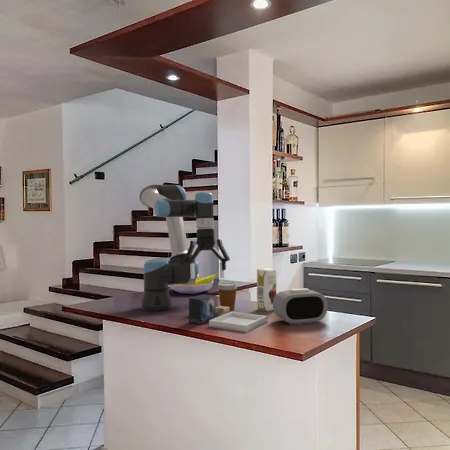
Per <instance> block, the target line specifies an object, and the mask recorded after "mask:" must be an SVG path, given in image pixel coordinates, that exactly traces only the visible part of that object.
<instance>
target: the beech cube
mask: <svg viewBox="0 0 450 450" xmlns="http://www.w3.org/2000/svg"><path fill="white" fill-rule="evenodd" d="M229 312H231V311H230V307H226V306H220V305H219V306H216V307H214V318H217V317H219V316H222V315H224V314H227V313H229Z"/></svg>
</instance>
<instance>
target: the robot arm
mask: <svg viewBox="0 0 450 450" xmlns="http://www.w3.org/2000/svg"><path fill="white" fill-rule="evenodd" d="M186 194H187V193H186V190H185V188H184V187H182V185H177V184H150V185H148V186H145V187H144V188H142V189H141V191H140V193H139V201H140V203H141V204H142V205H143V206H145V207H147V208H152V209H153V210H154V213H155V216H156V217H158V218H165V220H166V227H167V234H168V238H169V240H168V241H169V246H170V252H171V256H170V257H169V258H167V257H162V258H153V259H150V260H147V261H145V262H144V263H143V271H142V272H143V294H142V296H141V297H142V298H141V301H140V304H139V305H140V310H142V311H147V312H150V311H152V312H159V311H160V312H161V311H166V310H170V309H172V308H173V301H172V298H171V295H170V292H169V285H175V284H188V283H194V282H195V281H196V279H197V277H198V275H199V272H200V271H199V268H200V267H199V262H198V259H196V258H197V257H198V256H199V254H200V253H201V252H202V251H211V252H213V254H214V255H215V257H217V259H218V260H219V261H220V262H219V278H220V279H224V278H225V271H226V269H227V264H226V263H228V262H229V261H231V260H230V259H231V258H230V256H229V254H228V252H227V251H226V248H225V247H224V245H223V240H222V239H221V238H217V239H215V229H214V227H215V221H214V220H215V219H214V198H213V194H212V192H209V191H206V192H204V191H203V192H197V193H196V194H195V195H194V196H195V197H194V199H187V195H186ZM184 218H195V219H196V222H195V223H196V240H190V241H189V246H188V240H187V239H188V238H187V234H186V228H185V223H184ZM215 244H216V245H217V247H218V249H219V250H220V251H219V250H218V249H217V247H216V246H215ZM195 246H196V249H195ZM194 249H195V250H194ZM193 251H194V252H193ZM220 252H221V253H220Z"/></svg>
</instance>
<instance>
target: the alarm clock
mask: <svg viewBox="0 0 450 450" xmlns="http://www.w3.org/2000/svg"><path fill="white" fill-rule="evenodd" d="M327 300H328V299H327V298H326V296H325V295H324V294H323V293H320V292H317V291H315V290H313V289H312V290H311V289H309V288H307V287H306V288H305V287H304V288H291V289H290V290H288V289H287V290H283V291H279V292H278V293H277V292H276V296H275V297H274V300H273V310H272V311H273V312H274V314H275V316H277V317H278V318H279V319H281V320H283V321H284V322H286V323H288V324H289V325H291V326H292V324H295V325H303V324H302V323H307V324H313V323H312V322H317V323H318V322H319V321H321V320H323V319H324V318H325V317H326V315H327V313H328V308H329V307H328V301H327Z"/></svg>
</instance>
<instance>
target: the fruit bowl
mask: <svg viewBox="0 0 450 450" xmlns="http://www.w3.org/2000/svg"><path fill="white" fill-rule="evenodd" d="M217 274H218V273H214V274H213V275H209V276H206V277H203V278H201V276H200V275H199V274H198V277H197V279H196V281H195V282H194V283H188V284H175V285H168V287H169V288H170V289H171V290H173V291H174V292H177V293H179V294H185V295H186V294H187V295H197V294H200V293H204V292H205V291H208V290H209V289H211V288H212V287H213V286H214V285H213V284H214V280H215V278H216V276H218V275H217Z"/></svg>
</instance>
